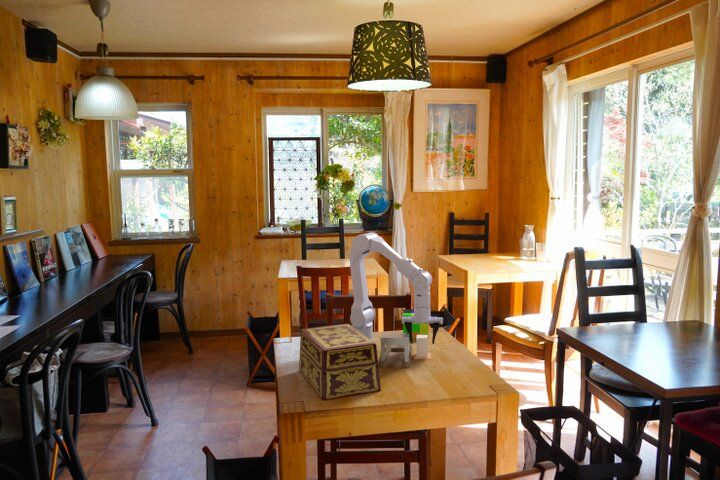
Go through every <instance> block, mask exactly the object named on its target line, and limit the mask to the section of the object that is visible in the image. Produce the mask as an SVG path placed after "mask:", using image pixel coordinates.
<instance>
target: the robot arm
mask: <svg viewBox="0 0 720 480" xmlns="http://www.w3.org/2000/svg"><path fill="white" fill-rule="evenodd" d="M351 242H352V243H351V244H352V245H351V247H350V250H349V253H348V258H349V259H348V260H349V266H350V267H349V268H350V275H351V286H352V295H353V304H352V305H351V308H350V309H351V310H350V311H351V314H350V317H349V321H350V323H351V324H350V325H351V326H352V327H354V328H355V329H356V330H358V331H359V332H361V333H362V334H364V335H365V336H366V337H368V338H369V339H371V340H372V341H373V342H374V339H373V338H374V334H373V333H374V331H373V330H374V329H373V328H374V327H373V321H374V320H375V318H376V310H375V309H374V307H373V303H372V301H370V299H369V291H368V283H367V282H368V281H367V274H366V266H365V258H366V257H367V256H368V254H369V253H370V252H371V253H380V254H381V255H382V256H384V257H385V258H386V259H388V260H389V261H390V262H391V263H393V264H394V265H395V266H396V270H397V272H399V273H400V274H401V275H402V276H404V278H406V279H407V280H408V281H410V283H411V287H412V288H413V309H414V316H411V317H403V316H402V317H401V324H403V323H405V328H406V330H407V332H408V333H409V338H410V339H409V344H413V341H414V339H413V336H412V323H428V324H432V340H431V342H432V343H431V345H434V344H435V341H436V336H437V333H438V332H439V329H440V327H441V326H440V325H443V324H444V318H443V317H439V316H431V284H432V283H433V276H432V274H431V273H430V272H429V271H427V270H424V269H423V268H422V267H419V266H418V265H417V264H415V263H414V262H413V261H414V260H413V259H412V258H408V257H402V256H401V255H400V254H398V252H397V251H396V250H395V249H393V247H391V246H390V245H389V244H388V242H386V241H385V239H384V238H383V236H382V237H381V236H379V235H378V233H377V232H373V231H369V232H368V233H363V234H359V235H356V237H354V238H353V240H352V241H351Z"/></svg>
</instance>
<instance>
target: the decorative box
mask: <svg viewBox="0 0 720 480" xmlns="http://www.w3.org/2000/svg"><path fill="white" fill-rule="evenodd" d="M351 325H352V324H350V323H343V324H342V323H341V324H334V325H332V324H331V325H326V326H325V325H324V326H317V327H309V328H308V327H307V328H301V329H300V337H299V341H300V342H299V343H300V344H299V365H298V372H299V373H300V374H301V376H302V377H303V378H304V379H305V381H306V382H307V383H308V384H309V385H310V387H311V388H312V389H313V391H314V392H315V393H316V394H317V395H318V397H320V399H321V400H322V401H324V402H325V401H330V400H336V399H340V398H341V399H343V398H348V397H353V396H360V395H365V394H372V393H377V392H382V387H381V379H380V369H379V368H380V365H379V357H378V347H377V343H376V342H375V341H374V340H373V341H372V340H371V339H369V338H368V337H366V336H365V335H364V334H362V333H361V332H359V331H358V330H356V329H355V328H354V327H352V326H351Z"/></svg>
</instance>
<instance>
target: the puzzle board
mask: <svg viewBox="0 0 720 480" xmlns="http://www.w3.org/2000/svg"><path fill="white" fill-rule="evenodd" d="M412 353H413V345H410V344H409V361H408V362H405V345H386V359H385V362H381V359H380V360H379V368H395V369H396V368H400V369H401V368H402V369H403V368H405V369H407V368H408V369H410V365H411V362H412V361H411V360H412Z"/></svg>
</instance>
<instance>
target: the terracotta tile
mask: <svg viewBox="0 0 720 480" xmlns="http://www.w3.org/2000/svg"><path fill="white" fill-rule="evenodd" d="M413 359H414V360H432V353H431V352H428V357H417V351H415V352H414V354H413Z"/></svg>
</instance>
